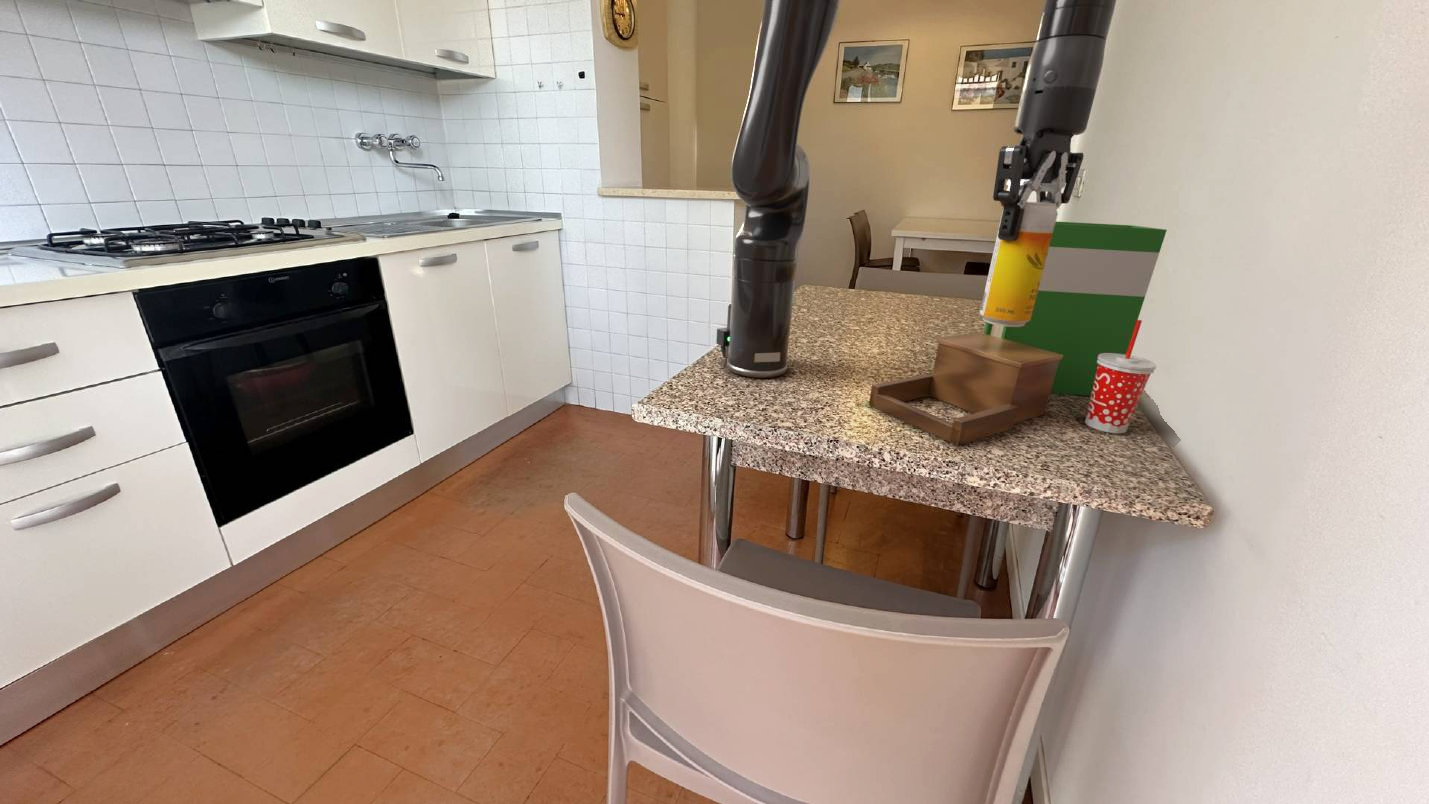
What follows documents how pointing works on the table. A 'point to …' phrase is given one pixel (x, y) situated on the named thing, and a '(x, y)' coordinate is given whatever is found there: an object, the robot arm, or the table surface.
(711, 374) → the table surface
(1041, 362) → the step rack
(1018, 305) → the beer can
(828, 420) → the table surface
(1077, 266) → the hardback book
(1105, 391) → the beverage cup
